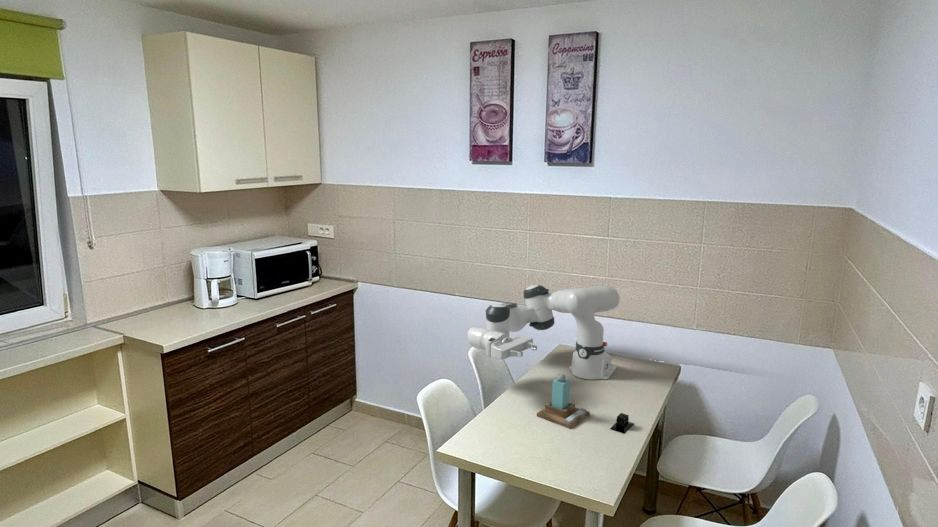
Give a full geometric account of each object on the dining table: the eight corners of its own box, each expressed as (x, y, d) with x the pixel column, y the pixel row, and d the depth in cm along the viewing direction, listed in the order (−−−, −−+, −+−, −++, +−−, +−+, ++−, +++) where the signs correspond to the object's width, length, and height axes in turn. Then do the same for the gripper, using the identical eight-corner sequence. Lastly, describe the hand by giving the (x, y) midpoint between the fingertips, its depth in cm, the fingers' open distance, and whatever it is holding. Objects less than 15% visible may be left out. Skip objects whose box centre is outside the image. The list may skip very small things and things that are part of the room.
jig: (557, 403, 209) (557, 394, 208) (589, 415, 200) (590, 405, 199) (536, 416, 198) (537, 406, 198) (569, 428, 189) (570, 418, 188)
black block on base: (624, 437, 184) (625, 425, 184) (604, 431, 189) (605, 419, 188) (638, 424, 194) (638, 412, 193) (618, 418, 199) (619, 406, 198)
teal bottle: (557, 407, 203) (559, 372, 200) (568, 411, 200) (570, 375, 197) (551, 411, 199) (552, 375, 197) (561, 415, 197) (563, 379, 194)
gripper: (515, 344, 222) (544, 352, 213) (484, 358, 207) (513, 366, 198) (515, 329, 221) (544, 336, 212) (484, 342, 206) (513, 350, 197)
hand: (529, 351), depth 205 cm, fingers open, 8 cm apart
